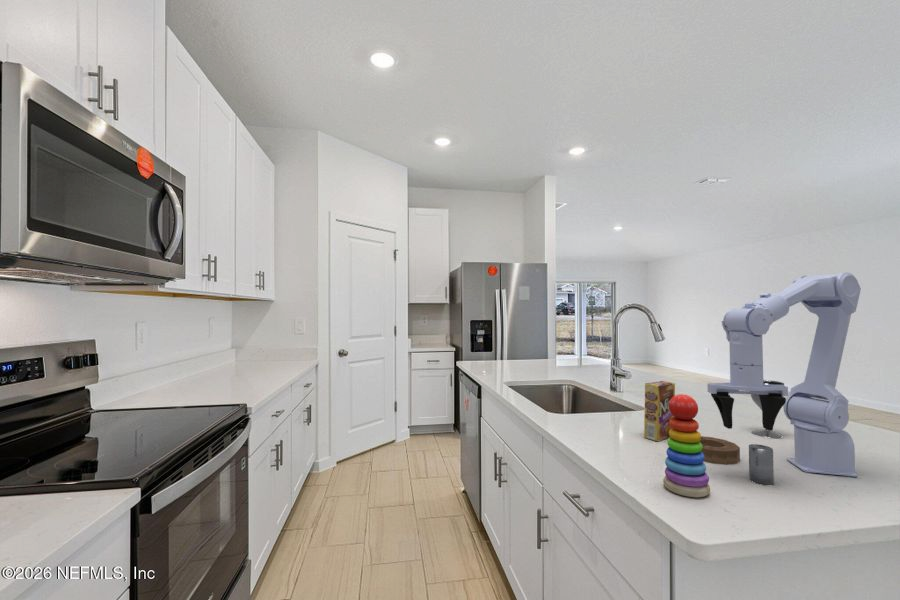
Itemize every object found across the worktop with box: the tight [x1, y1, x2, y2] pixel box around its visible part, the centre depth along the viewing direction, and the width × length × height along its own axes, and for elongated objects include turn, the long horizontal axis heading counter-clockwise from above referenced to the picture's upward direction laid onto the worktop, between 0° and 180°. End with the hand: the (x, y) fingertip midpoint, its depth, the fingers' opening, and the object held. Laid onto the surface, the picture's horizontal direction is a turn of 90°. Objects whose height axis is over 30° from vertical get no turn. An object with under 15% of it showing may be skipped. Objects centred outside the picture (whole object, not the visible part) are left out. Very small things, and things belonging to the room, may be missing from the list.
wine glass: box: [750, 379, 785, 439], centre depth 115 cm, size 8×8×15 cm
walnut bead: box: [700, 435, 741, 465], centre depth 98 cm, size 11×11×3 cm
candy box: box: [643, 380, 676, 442], centre depth 112 cm, size 9×4×15 cm, turn 123°
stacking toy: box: [662, 393, 711, 498], centre depth 79 cm, size 8×8×19 cm
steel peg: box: [748, 443, 775, 486], centre depth 83 cm, size 4×4×7 cm
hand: (747, 428), depth 85 cm, fingers open, 7 cm apart
